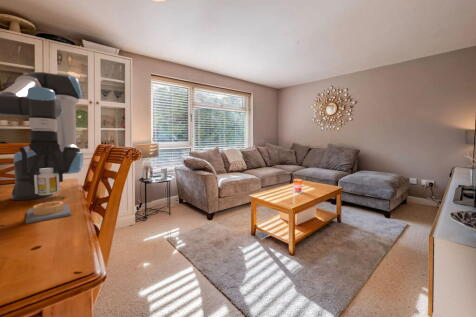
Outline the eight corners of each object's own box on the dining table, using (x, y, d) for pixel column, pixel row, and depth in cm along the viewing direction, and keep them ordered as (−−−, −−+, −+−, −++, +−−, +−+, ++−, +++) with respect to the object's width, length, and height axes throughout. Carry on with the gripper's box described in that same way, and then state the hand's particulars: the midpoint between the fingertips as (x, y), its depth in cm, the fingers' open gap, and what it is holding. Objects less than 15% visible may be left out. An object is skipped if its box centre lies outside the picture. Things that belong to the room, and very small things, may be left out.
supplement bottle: (56, 191, 84) (55, 167, 83) (57, 193, 80) (56, 168, 79) (38, 193, 80) (36, 168, 80) (38, 196, 76) (36, 169, 76)
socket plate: (28, 211, 83) (27, 203, 82) (67, 205, 91) (67, 197, 91) (26, 223, 71) (25, 213, 71) (71, 215, 79) (70, 206, 79)
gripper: (6, 128, 70) (11, 197, 71) (76, 131, 82) (79, 189, 84) (8, 129, 75) (13, 193, 77) (74, 131, 87) (76, 186, 89)
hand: (47, 191), depth 80 cm, fingers closed on supplement bottle, 5 cm apart
